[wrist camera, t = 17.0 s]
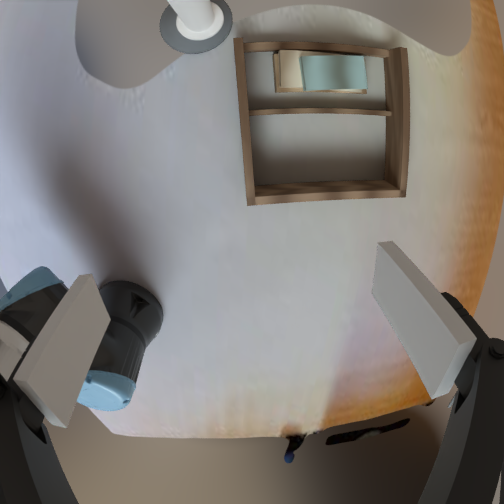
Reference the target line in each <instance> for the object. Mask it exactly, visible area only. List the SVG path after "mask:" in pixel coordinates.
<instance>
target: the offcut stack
mask: <svg viewBox="0 0 504 504" xmlns="http://www.w3.org/2000/svg"><path fill="white" fill-rule="evenodd" d="M273 68H274V82H275V93H277V92H335V93H355V94H367V91H366V89H368V87H367V78H366V70H365V58H364V56H348V55H340V54H332V53H323V52H311V51H297V50H280V51H279V52H278V54H274V55H273Z"/></svg>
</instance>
